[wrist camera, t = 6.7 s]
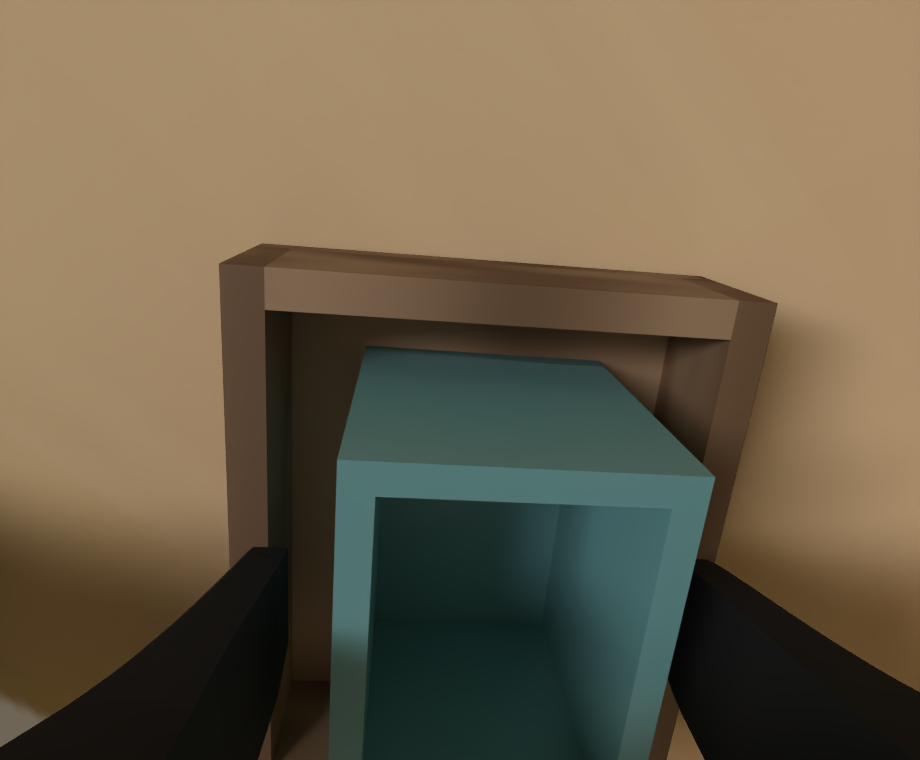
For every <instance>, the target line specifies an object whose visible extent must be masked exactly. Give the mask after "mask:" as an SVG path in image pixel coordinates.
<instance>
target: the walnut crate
mask: <svg viewBox="0 0 920 760" xmlns="http://www.w3.org/2000/svg"><path fill="white" fill-rule="evenodd" d="M219 278H220V305H221V333H222V361H223V388H224V416H225V444H226V471H227V499H228V527H229V554H230V569H231V568H232V567H233V566H234V565H235V564H236V562H237V561H238V560H239V559H240V558H241V557H242V556H243V555H244V554H245V553H246V552H248V551H249V550H250V549H251V548H252V547H284V548H288V633H289V642H288V648H287V653H286V658H285V663H284V668H283V673H282V678H281V683H280V688H279V693H278V698H277V701H276V704H275V708H274V711H273V714H272V717H271V720H270V723H269V727H268V730H267V733H266V736H265V739H264V742H263V746H262V749H261V752H260V755H259V758H258V760H328V752H329V718H330V684H331V650H332V616H333V582H334V548H335V514H336V480H337V458H338V454H339V450H340V447H341V443H342V439H343V435H344V431H345V427H346V423H347V419H348V415H349V411H350V408H351V404H352V400H353V396H354V392H355V388H356V384H357V380H358V376H359V372H360V369H361V365H362V361H363V357H364V353H365V349H366V346H381V347H396V348H412V349H427V350H443V351H458V352H474V353H489V354H505V355H520V356H536V357H551V358H567V359H582V360H598V361H599V362H600V363H601V364H602V365H603V366H604V367H605V368H606V369H607V370H608V371H609V372H610V373H611V374H612V375H613V376H614V377H615V378H616V379H617V380H618V381H619V382H620V383H621V384H622V385H623V386H624V387H625V388H626V389H627V390H628V391H629V392H630V393H631V394H632V395H633V396H634V397H635V398H636V399H637V400H638V401H639V402H640V403H641V404H642V405H643V406H644V407H645V408H646V409H647V410H648V411H649V412H650V413H651V414H652V415H653V416H654V417H655V418H656V419H657V420H658V421H659V422H660V423H661V424H662V425H663V426H664V427H665V428H666V429H667V430H668V431H669V432H670V433H671V434H672V435H673V436H674V437H675V438H676V439H677V440H678V441H679V442H680V443H681V444H682V445H683V446H684V447H685V448H686V449H687V450H688V451H689V452H690V453H691V454H692V455H693V456H694V457H695V458H697V459H698V460H699V461H700V462H701V463H702V464H703V465H704V466H705V467H706V468H707V469H708V470H709V471H710V472H711V473H712V474H713V475H714V476H715V481H714V485H713V490H712V494H711V498H710V502H709V506H708V511H707V515H706V519H705V523H704V527H703V532H702V536H701V540H700V544H699V548H698V553H697V557H696V559H707V560H709V561H711V562H713V563H715V558H716V554H717V550H718V546H719V542H720V538H721V534H722V530H723V526H724V522H725V517H726V513H727V509H728V505H729V501H730V497H731V493H732V489H733V485H734V481H735V476H736V472H737V468H738V464H739V460H740V456H741V452H742V448H743V444H744V440H745V435H746V431H747V427H748V423H749V419H750V415H751V411H752V407H753V403H754V399H755V395H756V390H757V386H758V382H759V378H760V374H761V370H762V366H763V362H764V358H765V354H766V349H767V345H768V341H769V337H770V333H771V329H772V325H773V321H774V317H775V313H776V308H777V304H778V303H775V302H772V301H769V300H766V299H764V298H761V297H758V296H755V295H752V294H749V293H747V292H744V291H741V290H738V289H735V288H732V287H730V286H727V285H724V284H721V283H718V282H715V281H712V280H710V279H707V278H704V277H701V276H688V275H674V274H661V273H648V272H634V271H621V270H608V269H594V268H581V267H568V266H554V265H541V264H528V263H514V262H501V261H488V260H474V259H461V258H448V257H434V256H421V255H408V254H394V253H381V252H368V251H354V250H341V249H328V248H314V247H301V246H288V245H274V244H260V245H258V246H255V247H253V248H251V249H249V250H247V251H245V252H243V253H241V254H238V255H236V256H234V257H232V258H230V259H228V260H226V261H223V262H221V263H219ZM678 710H679V707H678V705H677V702H676V700H675V698H674V695H673V692H672V690H671V687H670V684H669V682H668V679H667V683H666V687H665V691H664V696H663V700H662V704H661V708H660V712H659V717H658V721H657V725H656V729H655V733H654V738H653V742H652V746H651V750H650V754H649V759H648V760H666V759H667V755H668V751H669V747H670V743H671V739H672V735H673V731H674V726H675V722H676V718H677V714H678Z"/></svg>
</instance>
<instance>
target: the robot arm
mask: <svg viewBox="0 0 920 760" xmlns="http://www.w3.org/2000/svg"><path fill="white" fill-rule="evenodd" d="M288 642H289V633H288V548H284V547H252V548H251V549H250V550H249V551H248V552H246V553H245V554H244V555H243V556H242V557H241V558H240V559H239V560H238V561H237V562H236V564H235V565H234V566H233V567H232V568H231V569H230V570H229V571H228V572H227V573H226V574H225V575H224V576H223V577H222V578H221V579H220V580H219V581H218V582H217V583H216V584H215V585H214V586H213V587H212V588H211V589H210V590H208V591H207V592H206V593H205V594H204V595H203V596H202V597H201V598H200V599H199V600H198V601H197V602H196V603H195V604H194V605H193V606H192V607H190V608H189V609H188V610H187V611H186V612H185V613H184V614H183V615H182V616H181V617H180V618H179V619H178V620H176V621H175V622H174V623H173V624H172V625H171V626H170V627H169V628H167V629H166V630H165V631H164V632H163V633H161V634H160V635H159V636H158V637H157V638H156V639H154V640H153V641H152V642H151V643H150V644H148V645H147V646H146V647H145V648H144V649H143V650H141V651H140V652H139V653H138V654H137V655H135V656H134V657H133V658H132V659H131V660H129V661H128V662H127V663H125V664H124V665H123V666H122V667H120V668H119V669H118V670H116V671H115V672H114V673H113V674H111V675H110V676H109V677H107V678H106V679H104V680H103V681H102V682H100V683H99V684H97V685H96V686H95V687H93V688H92V689H90V690H89V691H88V692H86V693H85V694H83V695H82V696H80V697H79V698H78V699H76V700H75V701H73V702H72V703H70V704H69V705H67V706H66V707H64V708H63V709H61V710H59V711H58V712H56V713H55V714H53V715H51V716H50V717H48V718H47V719H45V720H43V721H42V722H40V723H39V724H37V725H35V726H34V727H32V728H31V729H29V730H28V731H26V732H24V733H23V734H21V735H20V736H18V737H16V738H15V739H13V740H12V741H10V742H8V743H7V744H5V745H3V746H2V747H0V760H258V758H259V755H260V752H261V749H262V746H263V742H264V739H265V736H266V733H267V730H268V727H269V723H270V720H271V717H272V714H273V711H274V708H275V704H276V701H277V698H278V693H279V688H280V683H281V678H282V673H283V668H284V663H285V658H286V653H287V648H288ZM668 682H669V684H670V687H671V690H672V692H673V695H674V698H675V700H676V702H677V705H678V707H679V709H680V711H681V713H682V715H683V717H684V719H685V721H686V723H687V725H688V727H689V729H690V731H691V733H692V735H693V737H694V739H695V741H696V743H697V745H698V747H699V749H700V751H701V753H702V755H703V757H704V759H705V760H920V692H918V691H916V690H914V689H913V688H911V687H909V686H907V685H905V684H903V683H901V682H900V681H898V680H896V679H894V678H893V677H891V676H889V675H887V674H886V673H884V672H882V671H880V670H879V669H877V668H875V667H874V666H872V665H870V664H869V663H867V662H866V661H864V660H862V659H861V658H859V657H857V656H856V655H854V654H852V653H851V652H849V651H848V650H846V649H844V648H843V647H841V646H839V645H838V644H836V643H835V642H833V641H832V640H830V639H828V638H827V637H825V636H824V635H822V634H821V633H819V632H818V631H816V630H814V629H813V628H811V627H810V626H808V625H807V624H805V623H804V622H802V621H801V620H799V619H798V618H796V617H795V616H793V615H792V614H790V613H789V612H787V611H786V610H784V609H783V608H782V607H780V606H779V605H777V604H776V603H774V602H773V601H771V600H770V599H768V598H767V597H765V596H764V595H762V594H761V593H759V592H758V591H756V590H755V589H754V588H752V587H751V586H749V585H748V584H746V583H745V582H743V581H742V580H740V579H739V578H737V577H736V576H734V575H733V574H731V573H729V572H728V571H726V570H725V569H723V568H721V567H720V566H718V565H716V564H715V563H713V562H711V561H709V560H707V559H696V561H695V565H694V569H693V574H692V578H691V582H690V586H689V590H688V595H687V599H686V603H685V607H684V611H683V616H682V620H681V624H680V628H679V632H678V637H677V641H676V645H675V649H674V653H673V658H672V662H671V666H670V670H669V675H668Z"/></svg>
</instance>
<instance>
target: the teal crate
mask: <svg viewBox="0 0 920 760" xmlns="http://www.w3.org/2000/svg"><path fill="white" fill-rule="evenodd" d="M714 481H715V476H714V475H713V474H712V473H711V472H710V471H709V470H708V469H707V468H706V467H705V466H704V465H703V464H702V463H701V462H700V461H699V460H698V459H697V458H695V457H694V456H693V455H692V454H691V453H690V452H689V451H688V450H687V449H686V448H685V447H684V446H683V445H682V444H681V443H680V442H679V441H678V440H677V439H676V438H675V437H674V436H673V435H672V434H671V433H670V432H669V431H668V430H667V429H666V428H665V427H664V426H663V425H662V424H661V423H660V422H659V421H658V420H657V419H656V418H655V417H654V416H653V415H652V414H651V413H650V412H649V411H648V410H647V409H646V408H645V407H644V406H643V405H642V404H641V403H640V402H639V401H638V400H637V399H636V398H635V397H634V396H633V395H632V394H631V393H630V392H629V391H628V390H627V389H626V388H625V387H624V386H623V385H622V384H621V383H620V382H619V381H618V380H617V379H616V378H615V377H614V376H613V375H612V374H611V373H610V372H609V371H608V370H607V369H606V368H605V367H604V366H603V365H602V364H601V363H600V362H599V361H598V360H582V359H567V358H551V357H536V356H520V355H505V354H489V353H474V352H458V351H443V350H427V349H412V348H396V347H381V346H366V349H365V353H364V357H363V361H362V365H361V369H360V372H359V376H358V380H357V384H356V388H355V392H354V396H353V400H352V404H351V408H350V411H349V415H348V419H347V423H346V427H345V431H344V435H343V439H342V443H341V447H340V450H339V454H338V458H337V480H336V514H335V548H334V582H333V616H332V650H331V684H330V718H329V752H328V760H648V759H649V754H650V750H651V746H652V742H653V738H654V733H655V729H656V725H657V721H658V717H659V712H660V708H661V704H662V700H663V696H664V691H665V687H666V683H667V679H668V675H669V670H670V666H671V662H672V658H673V653H674V649H675V645H676V641H677V637H678V632H679V628H680V624H681V620H682V616H683V611H684V607H685V603H686V599H687V595H688V590H689V586H690V582H691V578H692V574H693V569H694V565H695V561H696V557H697V553H698V548H699V544H700V540H701V536H702V532H703V527H704V523H705V519H706V515H707V511H708V506H709V502H710V498H711V494H712V490H713V485H714Z"/></svg>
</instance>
